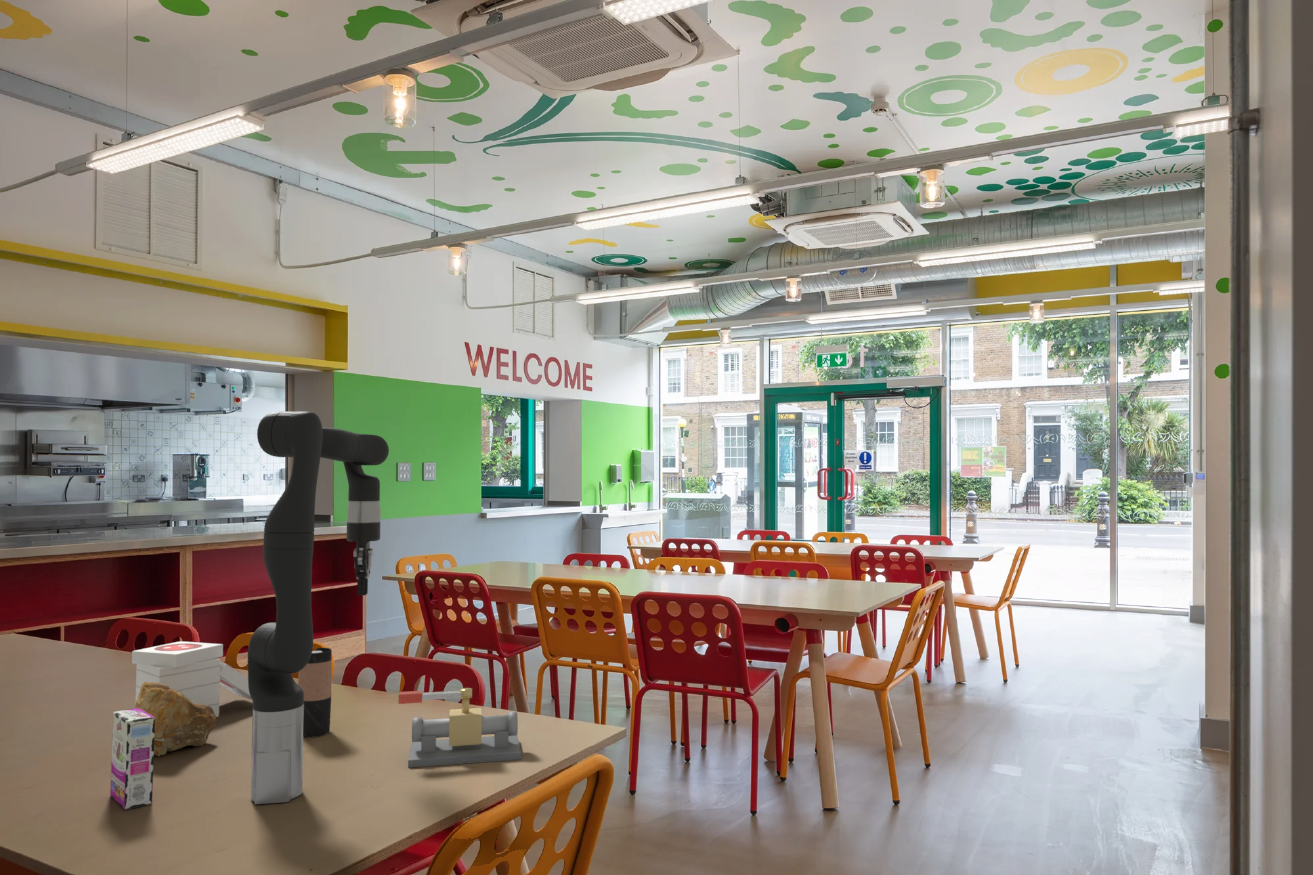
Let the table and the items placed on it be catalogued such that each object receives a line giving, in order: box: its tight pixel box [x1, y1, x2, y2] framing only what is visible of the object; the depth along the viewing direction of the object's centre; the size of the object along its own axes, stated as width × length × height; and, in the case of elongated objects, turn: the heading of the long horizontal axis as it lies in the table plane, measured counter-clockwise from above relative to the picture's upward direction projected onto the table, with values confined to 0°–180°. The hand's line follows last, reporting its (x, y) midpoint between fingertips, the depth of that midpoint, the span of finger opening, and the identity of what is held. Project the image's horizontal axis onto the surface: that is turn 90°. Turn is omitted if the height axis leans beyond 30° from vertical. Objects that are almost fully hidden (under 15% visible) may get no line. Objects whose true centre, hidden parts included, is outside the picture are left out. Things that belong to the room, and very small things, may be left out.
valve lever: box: [398, 687, 473, 705], centre depth 197 cm, size 16×3×2 cm, turn 104°
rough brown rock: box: [134, 682, 217, 757], centre depth 204 cm, size 23×17×15 cm
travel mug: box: [297, 647, 333, 738], centre depth 215 cm, size 8×8×20 cm
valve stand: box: [407, 698, 522, 768], centre depth 198 cm, size 14×24×12 cm, turn 102°
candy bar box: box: [109, 707, 155, 811], centre depth 170 cm, size 11×5×16 cm, turn 45°
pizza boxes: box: [131, 641, 252, 718], centre depth 234 cm, size 19×30×18 cm, turn 140°
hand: (362, 594), depth 205 cm, fingers closed
